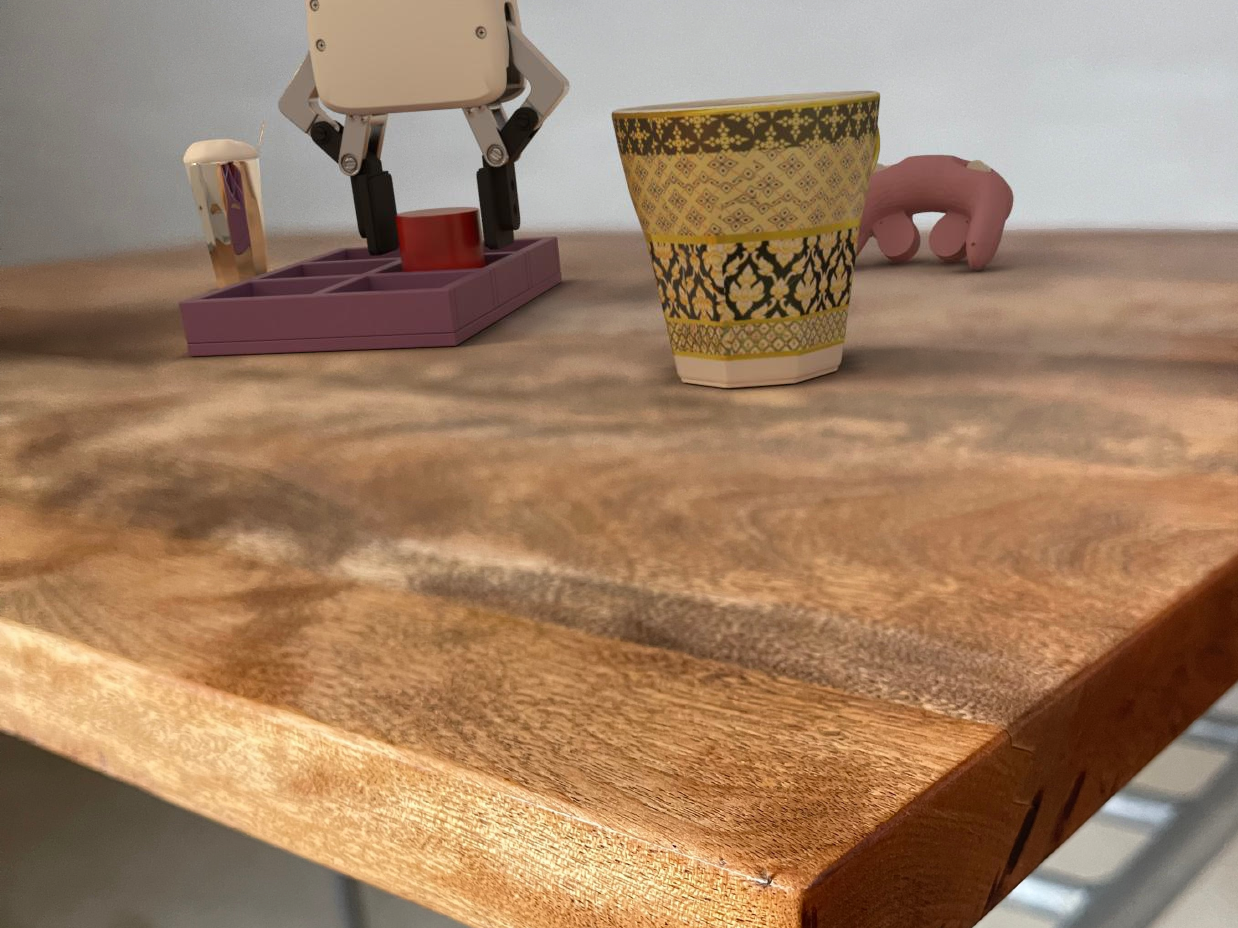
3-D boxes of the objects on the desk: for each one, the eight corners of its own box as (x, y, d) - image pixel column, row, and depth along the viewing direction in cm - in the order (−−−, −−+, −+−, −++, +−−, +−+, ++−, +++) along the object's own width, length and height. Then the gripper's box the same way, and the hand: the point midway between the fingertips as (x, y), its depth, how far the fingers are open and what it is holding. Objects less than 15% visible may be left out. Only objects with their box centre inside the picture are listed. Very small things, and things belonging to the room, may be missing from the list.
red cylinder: (394, 305, 75) (382, 218, 73) (422, 292, 79) (411, 209, 77) (474, 302, 74) (464, 214, 72) (499, 289, 78) (489, 205, 76)
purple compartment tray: (456, 346, 67) (449, 289, 66) (188, 356, 69) (177, 302, 68) (562, 281, 85) (557, 236, 84) (346, 291, 88) (339, 247, 87)
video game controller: (1007, 290, 80) (1028, 167, 80) (982, 263, 76) (1005, 134, 76) (847, 288, 85) (867, 172, 85) (816, 262, 81) (836, 141, 81)
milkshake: (300, 286, 92) (271, 119, 88) (215, 296, 90) (181, 126, 86) (286, 279, 95) (258, 119, 91) (204, 289, 94) (172, 126, 89)
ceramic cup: (770, 408, 50) (756, 105, 46) (582, 382, 57) (555, 114, 53) (976, 344, 59) (979, 81, 55) (791, 327, 65) (782, 92, 61)
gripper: (583, -150, 70) (615, 232, 77) (258, -117, 73) (318, 248, 80) (544, -171, 63) (583, 251, 71) (187, -133, 66) (260, 267, 74)
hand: (442, 245), depth 75 cm, fingers open, 5 cm apart
